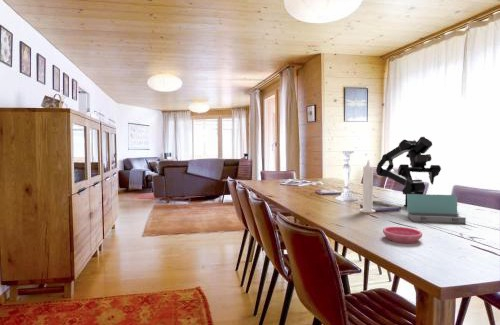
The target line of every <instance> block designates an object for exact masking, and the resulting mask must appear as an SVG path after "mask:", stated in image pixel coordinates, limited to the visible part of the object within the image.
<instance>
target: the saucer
mask: <svg viewBox="0 0 500 325" xmlns="http://www.w3.org/2000/svg"><path fill="white" fill-rule="evenodd" d="M382 233H383V234H384V236H386V239H388V240H389V241H391V240H392V242H394V241H395V242H396V243H401V244H414V243H417V242H418V241H419V240H420V239H421V238H422V237H423V232H421V231H420V230H418V229H414V228H409V227H405V226H388V227H387V226H386V227H384V228H382ZM395 242H394V243H395Z"/></svg>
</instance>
